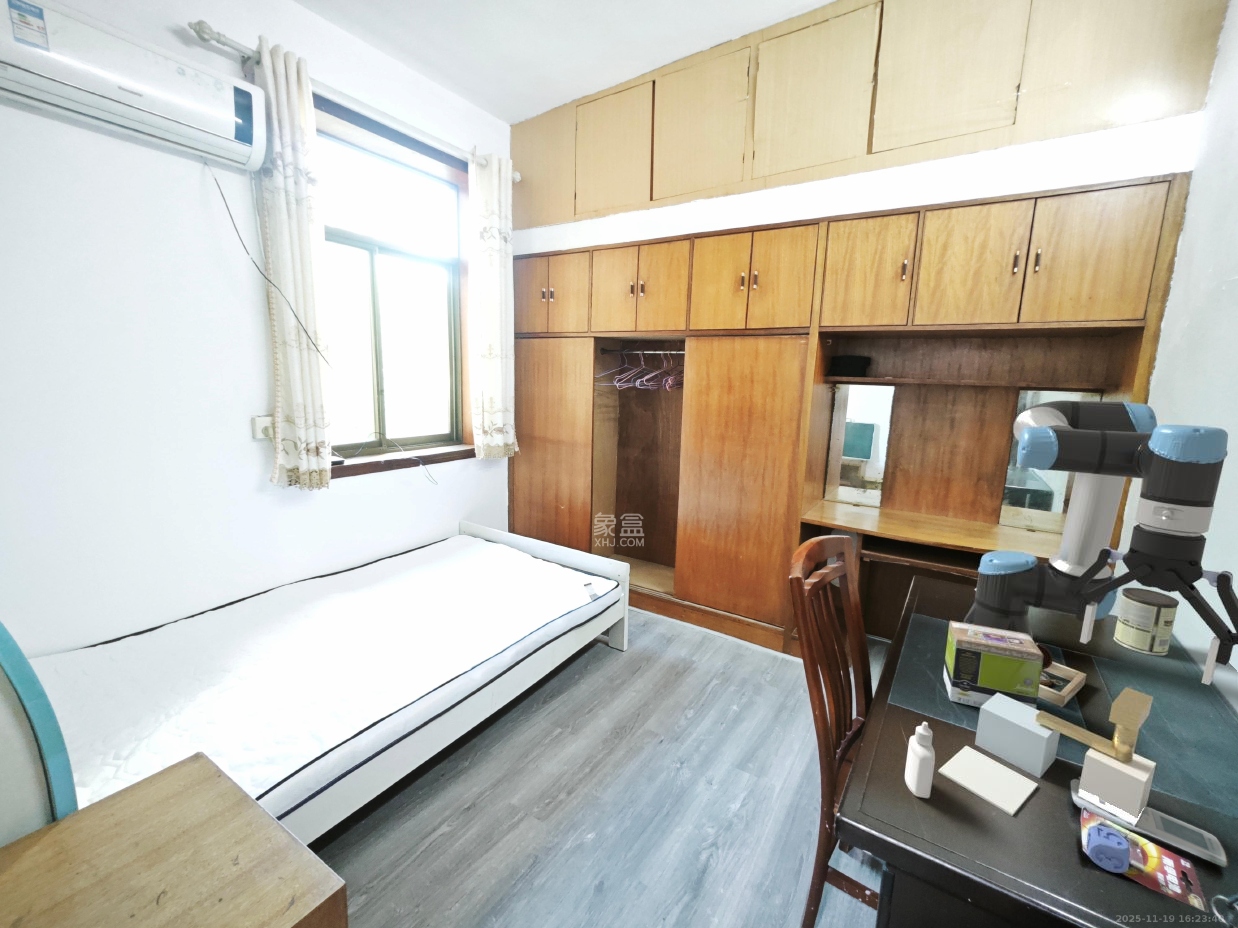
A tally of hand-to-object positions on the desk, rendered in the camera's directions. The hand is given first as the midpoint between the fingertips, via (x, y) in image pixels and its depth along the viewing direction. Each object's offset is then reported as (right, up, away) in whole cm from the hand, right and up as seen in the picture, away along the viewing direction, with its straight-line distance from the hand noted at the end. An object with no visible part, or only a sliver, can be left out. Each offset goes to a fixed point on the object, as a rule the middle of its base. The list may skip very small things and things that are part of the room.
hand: (1141, 659), depth 80 cm
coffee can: (+56, -18, +55) cm, 80 cm away
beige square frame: (+14, -19, +39) cm, 46 cm away
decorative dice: (-11, -27, -6) cm, 30 cm away
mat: (-18, -24, +9) cm, 31 cm away
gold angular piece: (-3, -16, +7) cm, 18 cm away
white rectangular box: (0, -25, +5) cm, 26 cm away
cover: (-8, -23, +16) cm, 29 cm away
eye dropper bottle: (-31, -24, +7) cm, 40 cm away
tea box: (-2, -21, +32) cm, 38 cm away
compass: (+16, -20, +39) cm, 46 cm away
